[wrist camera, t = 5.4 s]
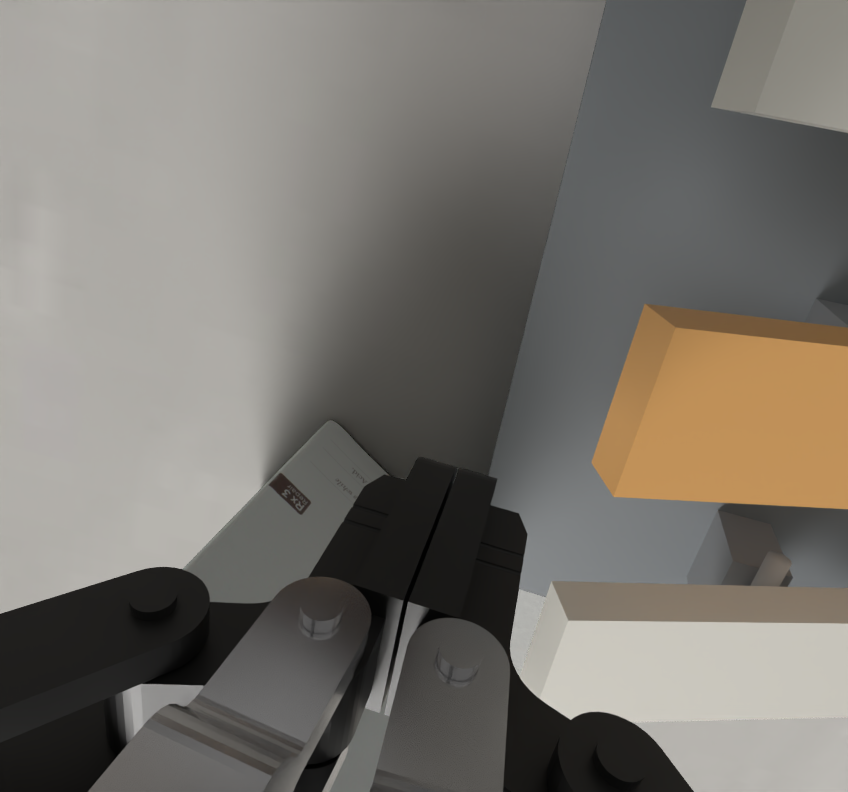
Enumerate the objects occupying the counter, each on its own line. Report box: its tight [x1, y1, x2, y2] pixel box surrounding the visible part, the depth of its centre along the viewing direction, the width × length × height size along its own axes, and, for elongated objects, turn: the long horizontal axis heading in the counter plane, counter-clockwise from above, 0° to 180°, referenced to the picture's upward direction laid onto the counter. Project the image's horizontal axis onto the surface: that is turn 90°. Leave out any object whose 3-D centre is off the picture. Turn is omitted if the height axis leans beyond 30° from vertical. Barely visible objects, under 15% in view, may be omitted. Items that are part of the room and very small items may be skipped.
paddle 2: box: [519, 581, 848, 722], centre depth 16 cm, size 4×13×1 cm, turn 81°
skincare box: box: [182, 420, 391, 792], centre depth 20 cm, size 8×6×15 cm
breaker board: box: [488, 0, 848, 597], centre depth 17 cm, size 22×16×6 cm
